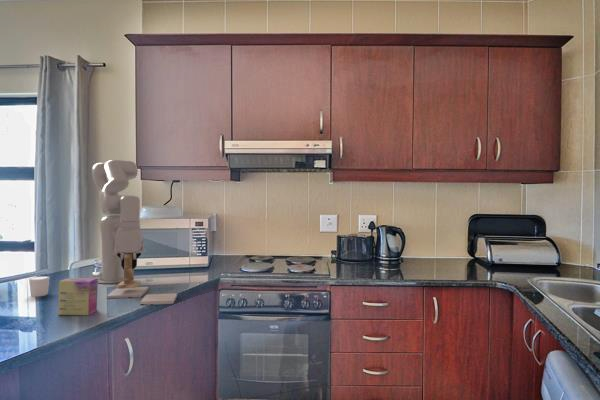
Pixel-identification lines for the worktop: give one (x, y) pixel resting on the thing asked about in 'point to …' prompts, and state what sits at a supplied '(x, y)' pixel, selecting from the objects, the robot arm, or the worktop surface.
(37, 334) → the worktop surface
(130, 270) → the masher
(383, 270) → the worktop surface
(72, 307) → the box
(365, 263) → the worktop surface
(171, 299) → the tile
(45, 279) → the white cup
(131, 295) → the rest pad
